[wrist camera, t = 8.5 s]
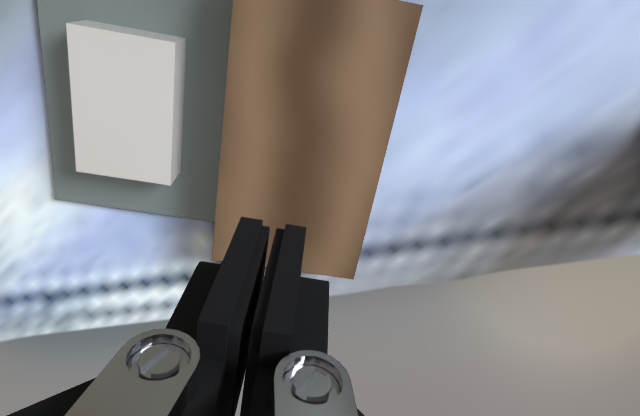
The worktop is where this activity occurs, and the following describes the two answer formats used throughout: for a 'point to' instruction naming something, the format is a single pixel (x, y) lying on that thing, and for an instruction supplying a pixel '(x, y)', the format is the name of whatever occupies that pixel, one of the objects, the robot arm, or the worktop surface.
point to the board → (310, 120)
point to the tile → (126, 101)
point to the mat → (198, 108)
